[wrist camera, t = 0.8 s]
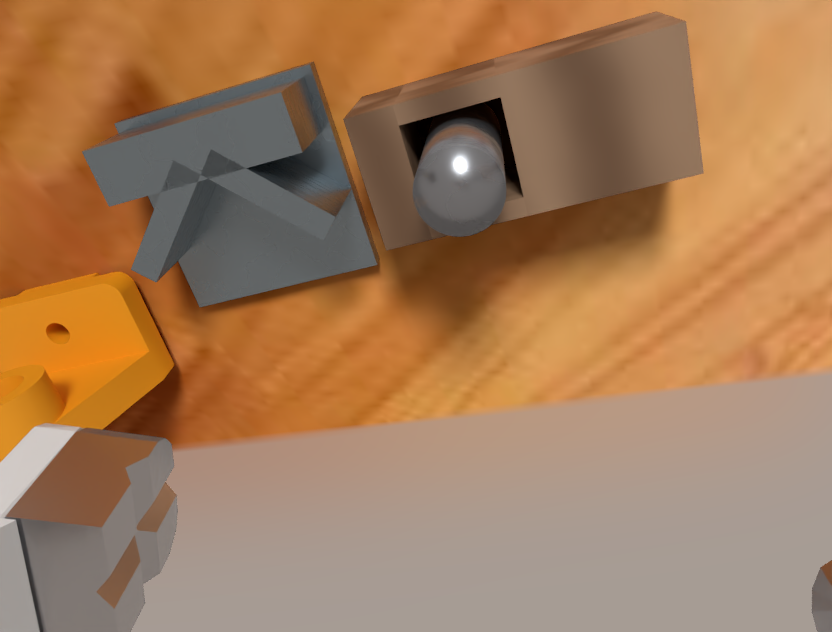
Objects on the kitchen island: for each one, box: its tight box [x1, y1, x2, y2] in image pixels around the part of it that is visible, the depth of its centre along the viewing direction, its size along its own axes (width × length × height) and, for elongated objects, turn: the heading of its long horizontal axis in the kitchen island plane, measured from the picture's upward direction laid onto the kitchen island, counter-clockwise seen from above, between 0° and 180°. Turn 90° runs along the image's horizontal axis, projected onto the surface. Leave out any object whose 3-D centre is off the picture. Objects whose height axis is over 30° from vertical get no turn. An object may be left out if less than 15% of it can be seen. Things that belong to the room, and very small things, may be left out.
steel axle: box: [412, 102, 506, 237], centre depth 35 cm, size 4×4×11 cm
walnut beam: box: [343, 12, 703, 250], centre depth 37 cm, size 16×7×6 cm, turn 106°
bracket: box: [0, 272, 174, 462], centre depth 43 cm, size 11×7×12 cm, turn 105°
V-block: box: [82, 62, 379, 307], centre depth 40 cm, size 12×12×6 cm
